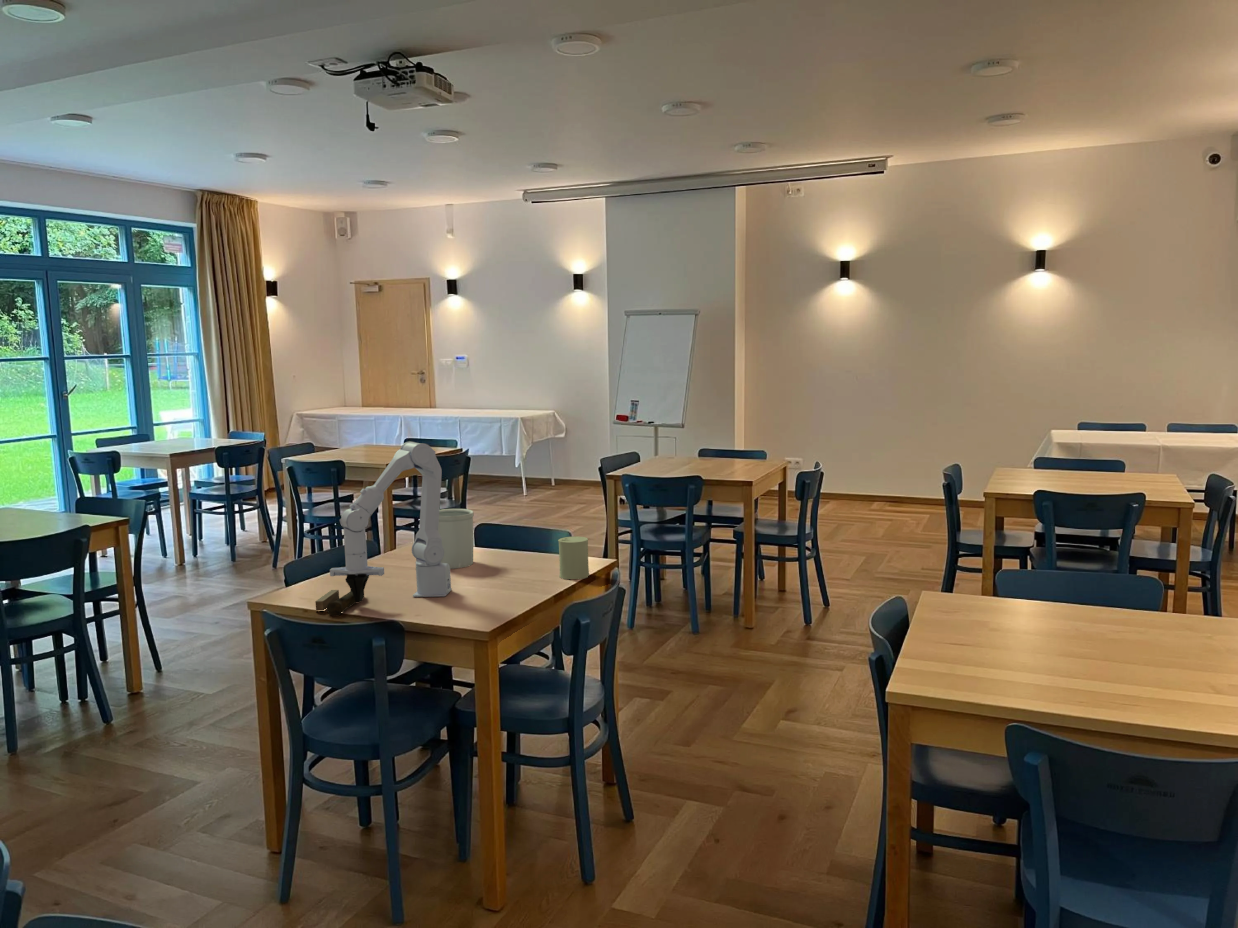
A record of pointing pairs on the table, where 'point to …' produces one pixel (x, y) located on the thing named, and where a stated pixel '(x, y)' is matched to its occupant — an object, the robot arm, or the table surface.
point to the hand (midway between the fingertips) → (358, 600)
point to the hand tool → (341, 604)
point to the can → (573, 557)
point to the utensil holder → (456, 536)
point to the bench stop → (327, 599)
